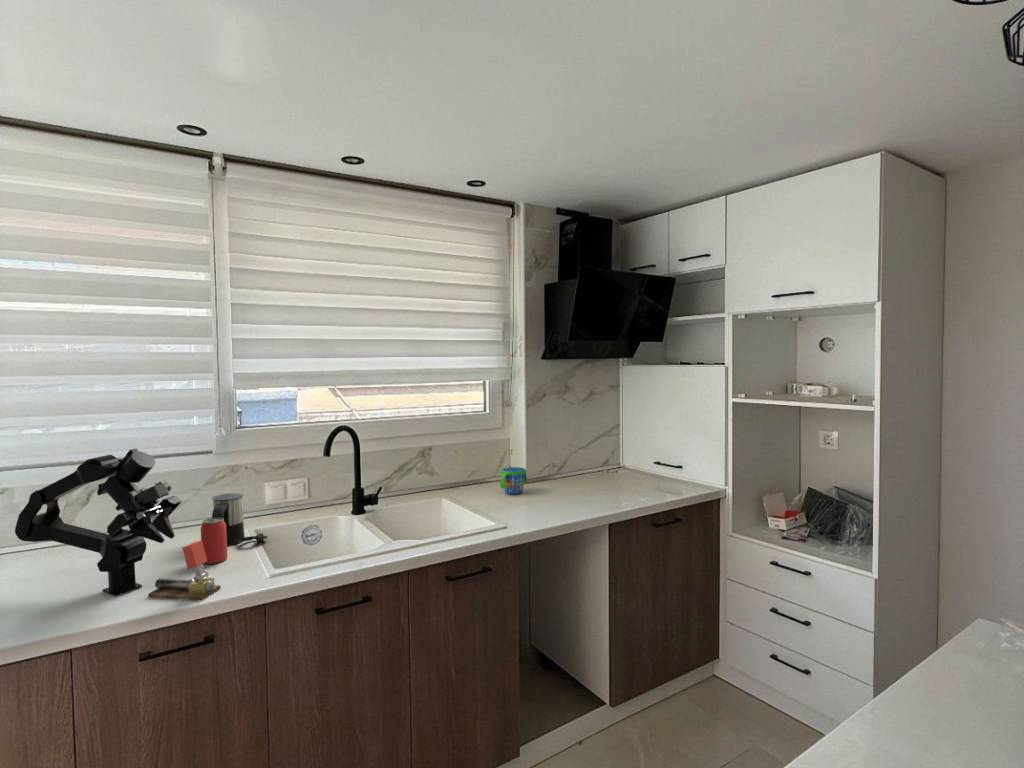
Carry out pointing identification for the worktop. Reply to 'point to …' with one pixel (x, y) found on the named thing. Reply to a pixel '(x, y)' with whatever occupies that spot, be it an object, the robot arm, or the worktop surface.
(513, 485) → the snack cup
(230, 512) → the milk frother
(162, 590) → the walnut board
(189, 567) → the valve lever
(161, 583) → the valve body
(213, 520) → the beer can
